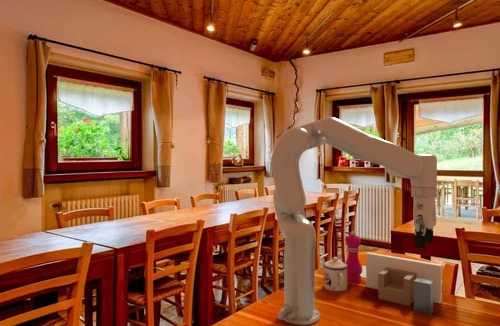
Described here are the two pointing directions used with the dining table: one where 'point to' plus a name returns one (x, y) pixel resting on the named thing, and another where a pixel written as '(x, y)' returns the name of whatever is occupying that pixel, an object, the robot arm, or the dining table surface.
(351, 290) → the dining table surface
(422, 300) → the blue-grey rectangular block
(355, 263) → the pepper mill
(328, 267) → the teacup with lid
